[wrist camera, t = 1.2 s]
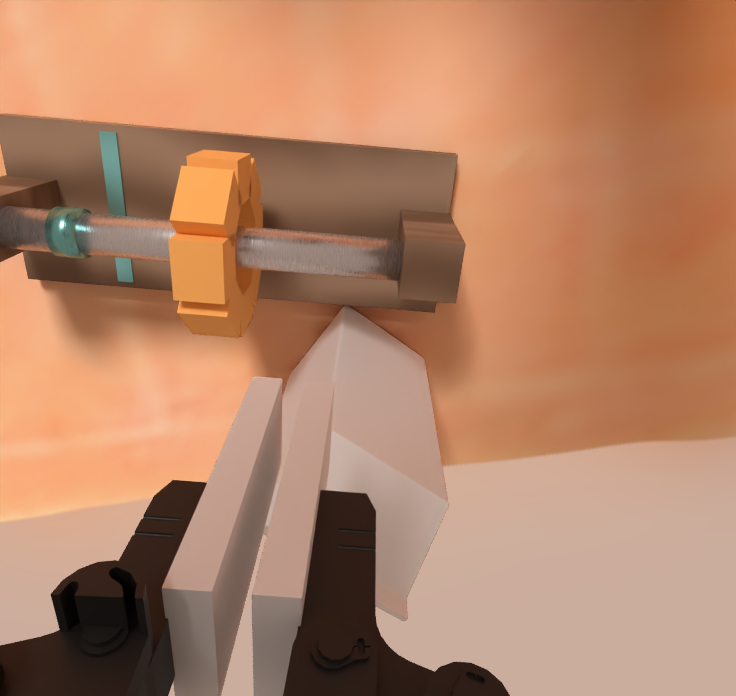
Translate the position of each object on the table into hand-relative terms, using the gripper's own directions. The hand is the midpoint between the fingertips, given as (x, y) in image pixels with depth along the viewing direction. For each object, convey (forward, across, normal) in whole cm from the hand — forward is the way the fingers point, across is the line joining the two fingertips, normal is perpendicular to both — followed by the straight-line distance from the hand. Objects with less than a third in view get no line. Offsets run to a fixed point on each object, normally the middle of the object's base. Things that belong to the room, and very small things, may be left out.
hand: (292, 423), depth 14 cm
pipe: (+17, -7, 0) cm, 19 cm away
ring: (+21, -6, 0) cm, 21 cm away
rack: (+22, -7, 0) cm, 23 cm away
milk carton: (+23, +2, -10) cm, 25 cm away
